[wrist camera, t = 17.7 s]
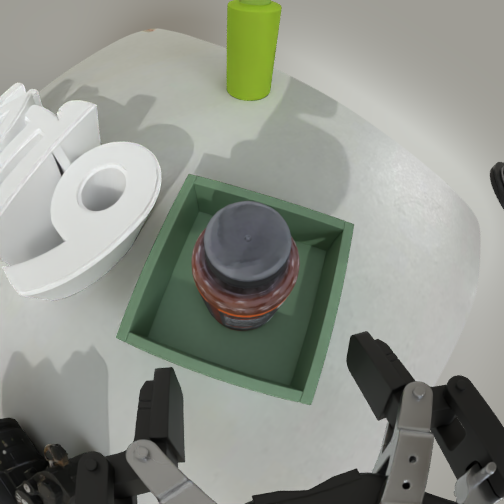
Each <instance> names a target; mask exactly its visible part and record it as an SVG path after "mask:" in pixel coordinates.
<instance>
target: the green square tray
mask: <svg viewBox="0 0 504 504" xmlns="http://www.w3.org/2000/svg"><path fill="white" fill-rule="evenodd" d="M240 201H254V202H259V203H263V204H265V205H267V206H269V207H271V208H273V209H274V210H276V211H277V212H278V213H279V214H280V215H281V216H282V217H283V219H284V220H285V221H286V223H287V225H288V227H289V230H290V233H291V236H292V238H293V240H294V242H295V243H296V246H297V249H298V253H299V260H300V262H299V263H300V266H299V273H298V277H297V281H296V284H295V286H294V288H293V289H292V291H291V293H290V294H289V295H288V297H287V298H286V300H285V301H284V302H283V304H282V305H281V306H280V308H279V309H278V310H277V311H276V313H275V314H274V315H273V316H272V318H271V319H270V320H269V321H268V322H266V323H265V324H264V325H262V326H260V327H258V328H256V329H253V330H248V331H237V330H232V329H229V328H226V327H225V326H223V325H222V324H220V323H219V322H218V321H217V320H216V319H215V318H214V317H213V316H212V315H211V314H210V312H209V310H208V308H207V307H206V305H205V303H204V301H203V299H202V297H201V294H200V293H199V290H198V288H197V286H196V284H195V281H194V278H193V274H192V264H191V261H192V253H193V248H194V245H195V243H196V241H197V239H198V237H199V235H200V234H201V233H202V231H203V230H204V229H205V228H206V227H207V225H208V223H209V221H210V219H211V218H212V217H213V216H214V215H215V214H216V213H217V212H218V211H219V210H220V209H222V208H224V207H225V206H227V205H229V204H233V203H236V202H240ZM353 228H354V224H352V223H349V222H346V221H343V220H341V219H338V218H335V217H332V216H329V215H326V214H323V213H320V212H317V211H314V210H311V209H308V208H305V207H302V206H299V205H296V204H293V203H289V202H286V201H283V200H280V199H277V198H273V197H270V196H267V195H264V194H260V193H257V192H253V191H250V190H247V189H243V188H240V187H236V186H233V185H229V184H226V183H222V182H218V181H215V180H211V179H207V178H204V177H200V176H198V177H197V176H195V175H191V174H189V175H188V176H187V178H186V180H185V182H184V184H183V186H182V188H181V190H180V192H179V194H178V196H177V197H176V199H175V201H174V203H173V205H172V207H171V209H170V211H169V213H168V215H167V218H166V220H165V222H164V224H163V226H162V228H161V230H160V232H159V234H158V236H157V239H156V241H155V243H154V245H153V247H152V249H151V252H150V254H149V256H148V258H147V261H146V263H145V265H144V268H143V270H142V272H141V275H140V277H139V279H138V282H137V284H136V286H135V289H134V291H133V294H132V296H131V299H130V301H129V304H128V306H127V309H126V312H125V314H124V317H123V319H122V322H121V325H120V327H119V330H118V333H117V336H116V338H117V339H119V340H122V341H124V342H126V343H128V344H130V345H132V346H134V347H137V348H139V349H141V350H143V351H146V352H148V353H150V354H152V355H155V356H157V357H160V358H162V359H164V360H167V361H169V362H172V363H174V364H177V365H179V366H182V367H184V368H187V369H190V370H192V371H195V372H198V373H201V374H203V375H206V376H209V377H212V378H215V379H218V380H221V381H224V382H227V383H230V384H233V385H236V386H240V387H243V388H246V389H250V390H253V391H257V392H260V393H264V394H267V395H271V396H275V397H279V398H283V399H287V400H291V401H295V402H300V403H303V404H308V405H311V403H312V400H313V397H314V394H315V391H316V388H317V384H318V381H319V378H320V374H321V371H322V368H323V364H324V360H325V357H326V353H327V350H328V346H329V342H330V338H331V334H332V330H333V326H334V322H335V318H336V314H337V310H338V305H339V301H340V297H341V292H342V287H343V283H344V278H345V273H346V268H347V262H348V257H349V252H350V246H351V240H352V234H353Z"/></svg>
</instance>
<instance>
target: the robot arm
mask: <svg viewBox="0 0 504 504" xmlns="http://www.w3.org/2000/svg"><path fill="white" fill-rule="evenodd" d="M500 177H501V181H502V184H503V186H504V166H503V167H502V168H501V170H500ZM347 366H348V369H349V371H350V373H351V375H352V376H353V378H354V380H355V381H356V383H357V385H358V387H359V388H360V390H361V392H362V393H363V395H364V397H365V399H366V400H367V402H368V404H369V406H370V407H371V409H372V411H373V413H374V414H375V416H376V418H377V420H381V419H383V418H387V420H388V423H387V426H386V431H385V435H384V439H383V443H382V446H381V450H380V454H379V457H378V460H377V462H376V464H375V466H374V468H373V471H372V473H359V472H358V470H357V469H354V470H351V471H348V472H346V473H343V474H340V475H337V476H334V477H332V478H330V479H328V480H326V481H325V482H323V483H321V484H319V485H317V486H315V487H313V488H312V489H309V490H302V491H276V492H271V493H265V494H260V495H254V496H252V498H253V500H252V501H250V502H247V503H245V504H496V503H498V502H499V501H501V500H503V499H504V427H503V426H502V424H501V423H500V421H499V420H498V418H497V417H496V415H495V414H494V413H493V411H492V410H491V408H490V407H489V405H488V404H487V403H486V401H485V400H484V399H483V397H482V396H481V395H480V393H479V392H478V390H477V389H476V388H475V387H474V385H473V384H472V383H471V381H470V380H469V379H468V378H466V377H464V376H459V375H458V376H454V377H452V378H451V379H450V380H449V381H448V383H447V385H442V386H435V387H429V386H428V385H427V384H425V383H423V382H419V381H415V380H414V379H413V377H412V376H411V375H410V373H409V372H408V371H407V369H406V368H405V367H404V365H403V364H402V363H401V362H400V360H399V359H398V358H397V356H396V355H395V354H393V351H392V350H391V349H390V347H389V346H388V345H387V344H386V343H384V342H383V341H381V340H379V339H376V340H374V339H373V338H372V336H371V335H370V334H369V333H368V332H367V331H366V332H362V333H358V334H355V335H352V336H351V337H350V342H349V348H348V353H347ZM456 416H457V417H456ZM461 424H462V425H461ZM463 427H464V428H463ZM430 430H431V432H430ZM434 437H435V439H436V441H437V443H438V445H439V446H440V448H441V450H442V452H443V454H444V456H445V457H446V459H447V461H448V463H449V464H450V467H451V469H452V471H453V473H454V474H455V476H456V478H457V482H456V484H455V491H454V496H455V497H456V502H454V501H451V500H447V499H444V498H441V497H438V496H435V495H432V494H429V493H427V492H425V488H426V483H427V478H428V473H429V468H430V462H431V456H432V449H433V442H434ZM178 462H185V451H184V417H183V394H182V390H181V387H180V385H179V382H178V380H177V377H176V374H175V372H174V369H173V368H172V367H169V368H157V369H155V372H154V380H153V381H146V382H145V383H144V385H143V386H142V388H141V390H140V396H139V403H138V411H137V420H136V429H135V438H134V441H133V443H131V444H130V445H129V446H128V448H127V450H126V451H124V452H121V453H118V454H114V455H110V456H106V457H104V456H103V455H102V454H100V453H98V452H88V453H85V454H84V455H83V456H82V457H81V458H80V459H79V461H78V467H77V477H76V489H75V504H137V495H139V494H143V493H147V492H152V493H153V494H154V496H155V497H156V498H157V499H158V502H159V503H160V504H217V503H216V502H215V501H213V500H212V499H211V498H210V497H209V496H208V495H207V494H205V493H204V492H203V491H202V490H201V489H200V488H199V487H198V486H197V485H196V484H195V483H193V482H192V481H191V480H190V479H188V478H187V477H186V476H185V475H184V474H183V473H182V472H181V471H180V470H179V469H178Z"/></svg>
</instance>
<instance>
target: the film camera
mask: <svg viewBox="0 0 504 504" xmlns="http://www.w3.org/2000/svg"><path fill="white" fill-rule="evenodd" d="M56 446H57V447H56ZM48 450H49V452H50V453H51V454H52V456H53V460H49V459H48V458H46V455H45V453H46V452H47V451H48ZM84 454H85V453H83V454H81V455H78V456H76V457H74V458H71V459H69V460H68V453H66V451H65V450H64V449H63V448H62V447H61V445H59V444H48V445H46V447H45V448H44V455H45V459H43V458H42V457H41V455H40V454H39V452H38V451H37V449H36V448H35V447H34V445H33V444H32V443H31V441H30V440H29V438H28V436H27V435H26V433H25V432H24V430H22V429H21V427H20V426H19V424H18V422H17V421H16V420H15V419H13V418H4V419H0V504H75V489H76V477H77V467H78V461H79V459H80V458H81V457H82V456H83V455H84Z"/></svg>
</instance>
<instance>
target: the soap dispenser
mask: <svg viewBox="0 0 504 504" xmlns="http://www.w3.org/2000/svg"><path fill="white" fill-rule="evenodd" d="M280 15H281V5H279V4H278V3H276V2H273V1H271V0H233V1H231V2H229V3H228V8H227V91H228V93H229V94H230V95H231V96H233V97H235V98H237V99H241V100H247V101H253V100H259V99H262V98H264V97H266V96H267V95H268V94H269V93H270V88H271V81H272V74H273V66H274V59H275V52H276V44H277V37H278V30H279V23H280Z"/></svg>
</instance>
